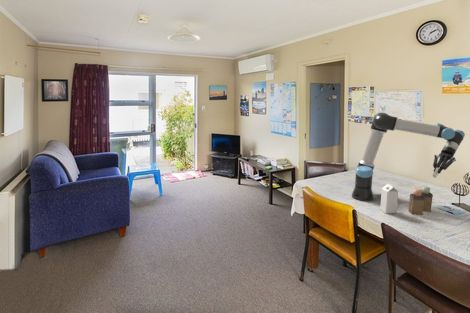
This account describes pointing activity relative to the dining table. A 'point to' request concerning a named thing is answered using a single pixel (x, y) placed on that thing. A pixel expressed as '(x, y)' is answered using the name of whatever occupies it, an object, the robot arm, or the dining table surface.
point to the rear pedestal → (427, 202)
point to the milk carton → (389, 199)
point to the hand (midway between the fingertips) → (434, 176)
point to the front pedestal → (416, 205)
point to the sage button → (425, 190)
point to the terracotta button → (417, 193)
